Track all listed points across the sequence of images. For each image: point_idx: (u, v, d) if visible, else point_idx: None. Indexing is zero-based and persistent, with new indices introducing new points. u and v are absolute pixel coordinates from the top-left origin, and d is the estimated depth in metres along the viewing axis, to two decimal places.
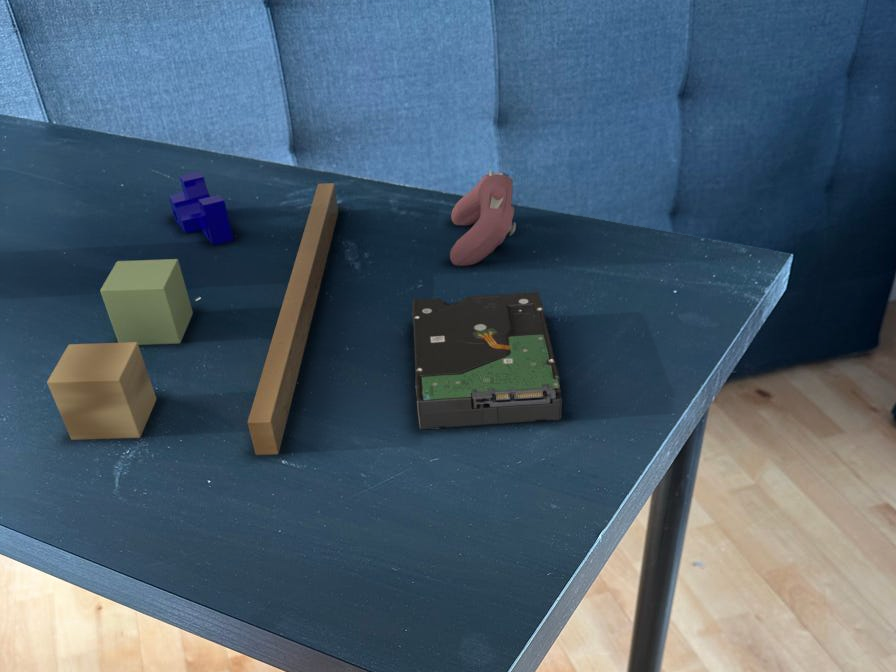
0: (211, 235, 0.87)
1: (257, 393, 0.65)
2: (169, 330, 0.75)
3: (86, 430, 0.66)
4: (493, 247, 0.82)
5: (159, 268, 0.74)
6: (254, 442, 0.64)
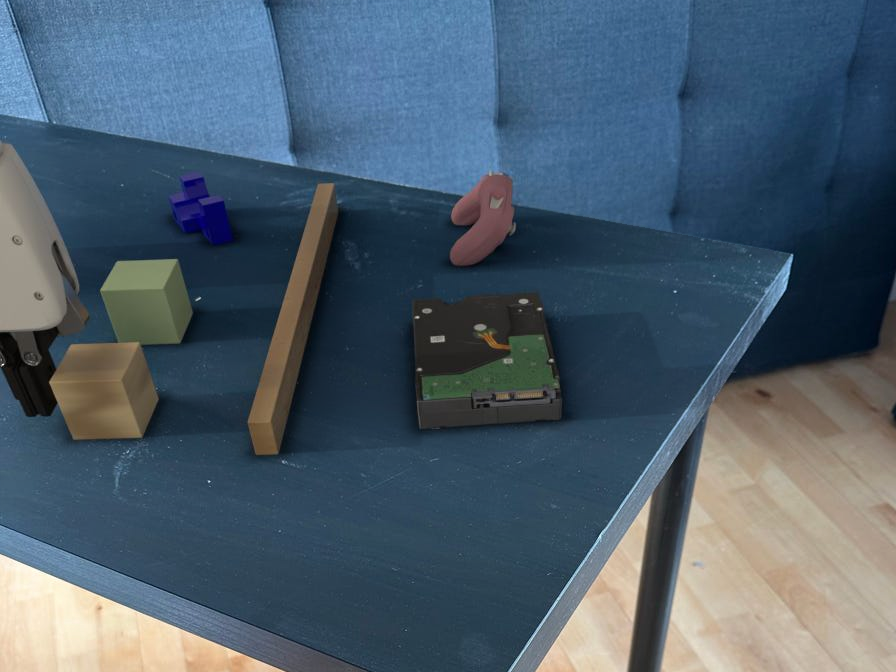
0: (211, 235, 0.87)
1: (257, 393, 0.65)
2: (169, 330, 0.75)
3: (88, 430, 0.66)
4: (493, 247, 0.82)
5: (159, 268, 0.74)
6: (254, 442, 0.64)
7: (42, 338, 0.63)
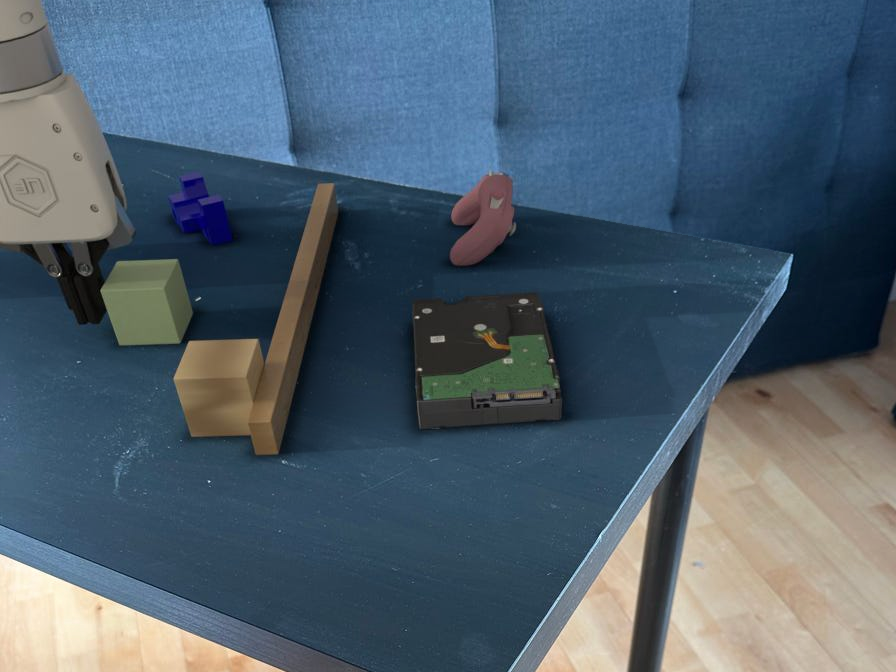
0: (210, 235, 0.87)
1: (257, 393, 0.65)
2: (169, 330, 0.75)
3: (207, 427, 0.66)
4: (493, 247, 0.82)
5: (159, 268, 0.74)
6: (254, 442, 0.64)
7: (94, 250, 0.71)
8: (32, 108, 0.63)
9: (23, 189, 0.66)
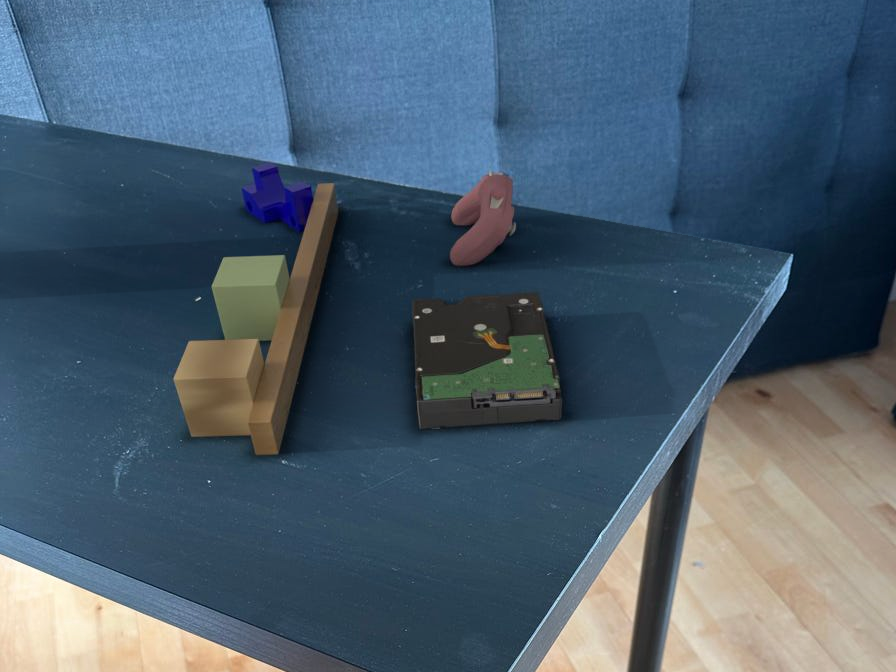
0: (298, 222, 0.88)
1: (257, 393, 0.65)
2: None
3: (207, 427, 0.66)
4: (493, 247, 0.82)
5: (267, 264, 0.74)
6: (254, 442, 0.64)
7: None
8: None
9: None
